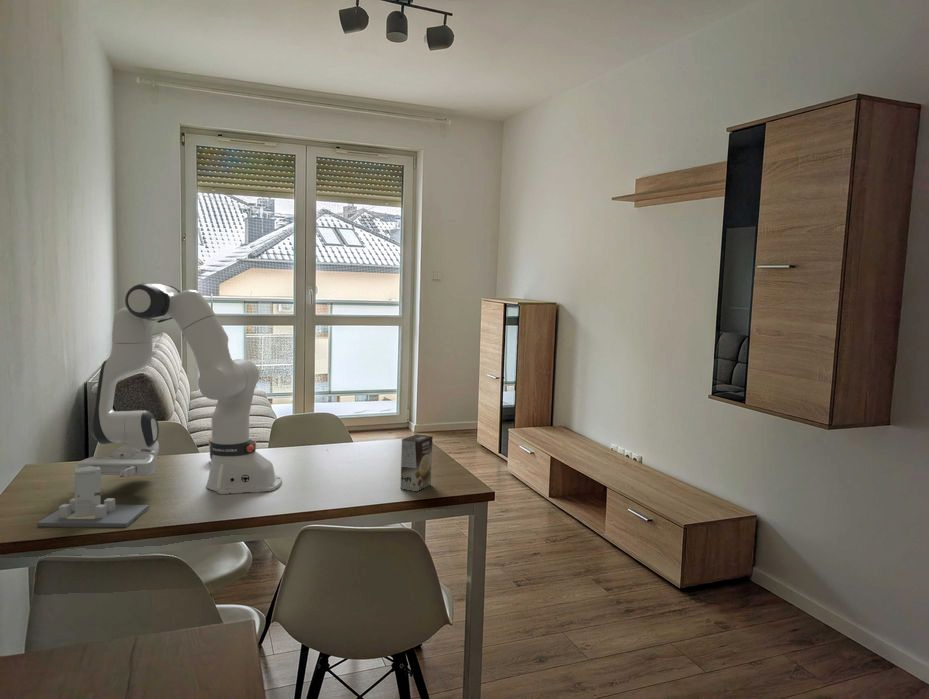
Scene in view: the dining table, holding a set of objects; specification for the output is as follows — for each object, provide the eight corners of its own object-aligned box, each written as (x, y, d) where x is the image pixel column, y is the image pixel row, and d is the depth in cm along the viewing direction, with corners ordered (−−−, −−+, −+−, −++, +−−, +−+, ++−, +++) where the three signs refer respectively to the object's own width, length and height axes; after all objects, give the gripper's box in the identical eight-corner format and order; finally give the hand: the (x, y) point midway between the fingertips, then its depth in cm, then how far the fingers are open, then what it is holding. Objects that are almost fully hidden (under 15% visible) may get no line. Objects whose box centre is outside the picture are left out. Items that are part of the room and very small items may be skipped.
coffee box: (417, 492, 204) (418, 441, 202) (399, 489, 207) (400, 439, 205) (431, 484, 212) (433, 436, 210) (414, 481, 215) (415, 433, 213)
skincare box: (75, 517, 171) (73, 472, 170) (74, 512, 175) (73, 467, 174) (102, 513, 174) (100, 469, 173) (101, 508, 178) (99, 465, 177)
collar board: (149, 508, 183) (148, 494, 182) (126, 527, 169) (126, 512, 168) (67, 507, 181) (66, 493, 181) (37, 526, 167) (37, 511, 167)
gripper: (90, 449, 196) (65, 462, 182) (161, 450, 197) (142, 463, 184) (91, 470, 196) (66, 484, 183) (161, 471, 198) (142, 485, 184)
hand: (105, 473), depth 183 cm, fingers open, 8 cm apart
